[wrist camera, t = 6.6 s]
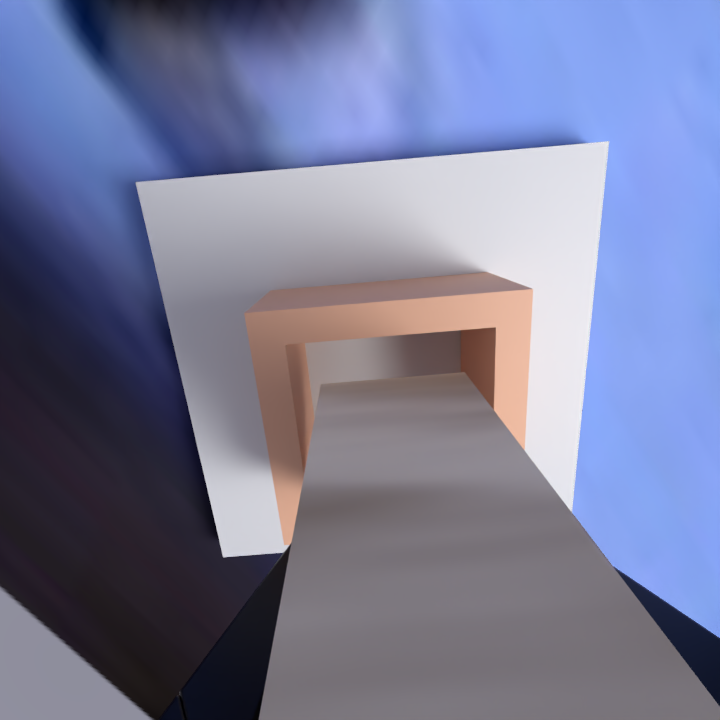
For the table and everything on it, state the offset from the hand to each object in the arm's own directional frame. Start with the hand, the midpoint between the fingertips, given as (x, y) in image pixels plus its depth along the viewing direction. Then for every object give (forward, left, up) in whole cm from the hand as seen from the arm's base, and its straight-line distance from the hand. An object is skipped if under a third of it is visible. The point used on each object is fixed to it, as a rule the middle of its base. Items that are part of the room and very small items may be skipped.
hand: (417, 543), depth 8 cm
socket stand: (0, 0, -10) cm, 10 cm away
